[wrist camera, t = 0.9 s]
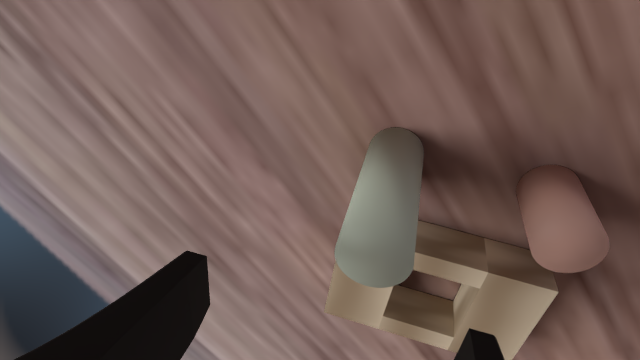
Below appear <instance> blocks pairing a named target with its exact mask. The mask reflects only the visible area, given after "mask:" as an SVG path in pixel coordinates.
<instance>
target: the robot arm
mask: <svg viewBox="0 0 640 360" xmlns="http://www.w3.org/2000/svg"><path fill="white" fill-rule="evenodd" d="M209 306H210V296H209V282H208V267H207V256H204V255H201V254H197V253H193V252H190V251H186V252H184V253H182V254H181V255H180V256H178V257H177V258H175V259H174V260H173V261H171V262H170V263H169V264H167V265H166V266H164V267H163V268H162V269H160V270H159V271H157V272H156V273H155V274H153V275H152V276H151V277H149V278H148V279H146V280H145V281H144V282H142V283H141V284H139V285H138V286H136V287H135V288H133V289H132V290H131V291H129V292H128V293H126V294H125V295H123V296H122V297H120V298H119V299H117V300H116V301H114V302H113V303H111V304H110V305H108V306H107V307H105V308H104V309H102V310H101V311H99V312H97V313H96V314H94V315H93V316H91V317H89V318H88V319H86V320H85V321H83V322H81V323H80V324H78V325H77V326H75V327H73V328H71V329H70V330H68V331H66V332H65V333H63V334H61V335H59V336H58V337H56V338H54V339H52V340H51V341H49V342H47V343H45V344H43V345H42V346H40V347H38V348H36V349H34V350H32V351H30V352H28V353H26V354H25V355H22V356H20V357H18V358H16V359H15V360H180V359H181V358H182V356H183V355H184V353H185V351H186V350H187V348H188V347H189V345H190V343H191V342H192V340H193V339H194V337H195V335H196V333H197V331H198V329H199V327H200V325H201V323H202V321H203V319H204V316H205V314H206V312H207V310H208V308H209ZM454 360H505V359H504V357H503V354H502V351H501V349H500V346H499V344H498V341H497V339H496V337H495V336H494V335H492V334H488V333H485V332H481V331H478V330H474V329H470V328H469V330H468V332H467V334H466V336H465V338H464V340H463V342H462V344H461V346H460V348H459V350H458V352H457V354H456V357H455V359H454Z"/></svg>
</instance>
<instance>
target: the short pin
mask: <svg viewBox="0 0 640 360" xmlns="http://www.w3.org/2000/svg"><path fill="white" fill-rule="evenodd" d="M516 195H517V199H518V203H519V207H520V211H521V215H522V219H523V223H524V227H525V231H526V234H527V238H528V242H529V246H530V250H531V254H532V256H533V258H534V259H535V261H536V262H537V263H538V264H539V265H541V266H542V267H544V268H546V269H548V270H551V271H554V272H559V273H576V272H581V271H585V270H588V269H590V268H592V267H594V266H596V265H597V264H599V263H600V262H601V261H602V260H603V259H604V258H605V257H606V255H607V253H608V251H609V247H610V241H609V238H608V235H607V233H606V231H605V229H604V227H603V225H602V223H601V221H600V219H599V218H598V216H597V214H596V212H595V210H594V208H593V206H592V204H591V202H590V200H589V198H588V196H587V194H586V192H585V190H584V188H583V186H582V184H581V182H580V180H579V178H578V177H577V175H576V174H575V173H574V172H573V171H571V170H570V169H568V168H566V167H563V166H559V165H544V166H540V167H537V168H534V169H532V170H530V171H529V172H527V173H526V174H525V175H524V176H523V177H522V178H521V179H520V181H519V182H518V184H517V188H516Z"/></svg>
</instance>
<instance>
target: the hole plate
mask: <svg viewBox="0 0 640 360" xmlns="http://www.w3.org/2000/svg"><path fill="white" fill-rule="evenodd" d="M413 270H415V271H419V272H423V273H426V274H430V275H433V276H437V277H440V278H444V279H447V280H451V281H454V282H458V283H461V286H460V288H459V291H458V293H457V295H456V297H455V299H454V301H451V300H447V299H444V298H440V297H437V296H433V295H430V294H426V293H423V292H420V291H416V290H413V289H409V288H406V287H402V286H399V285H395V286H392V287H386V288H375V287H369V286H365V285H362V284H360V283H357V282H355V281H354V280H352V279H350V278H349V277H348V276H347V275H345V274H344V273H343V272H342V270H341V269H340V268H339V266H338V264H337V262H336V261H335V266H334V270H333V275H332V279H331V284H330V288H329V293H328V297H327V301H326V306H325V310H324V312H325V313H328V314H332V315H335V316H338V317H341V318H345V319H348V320H351V321H354V322H358V323H361V324H364V325H368V326H371V327H374V328H377V329H381V330H384V331H387V332H390V333H394V334H397V335H400V336H403V337H407V338H410V339H413V340H417V341H420V342H423V343H426V344H430V345H433V346H436V347H439V348H443V349H446V350H449V351H452V352H456V353H457V352H458V350H459V348H460V346H461V344H462V342H463V340H464V338H465V336H466V334H467V332H468V330H469V328H470V329H474V330H478V331H481V332H485V333H488V334H492V335H494V336H495V337H496V339H497V341H498V344H499V346H500V349H501V351H502V354H503V357H504V359H505V360H512V359H513V357H514V356H515V355H516V353H517V352H518V350H519V349H520V347H521V346H522V344H523V343H524V342H525V340H526V339H527V337H528V336H529V334H530V333H531V331H532V330H533V329H534V327H535V326H536V324H537V323H538V321H539V320H540V318H541V317H542V316H543V314H544V313H545V311H546V310H547V308H548V307H549V305H550V304H551V303H552V301H553V300H554V298H555V297H556V295H557V294H558V292H559V291H558V288H557V285H556V281H555V278H554V275H553V272H552V271H551V270H548V269H546V268H544V267H542V266H541V265H539V264H538V263H537V262H536V261H535V259H534V258H533V256H532V254H531V250H528V249H524V248H520V247H516V246H513V245H509V244H505V243H501V242H498V241H494V240H490V239H486V238H483V237H479V236H475V235H472V234H468V233H464V232H460V231H457V230H453V229H449V228H445V227H442V226H438V225H434V224H430V223H427V222H423V221H419V220H418V224H417V235H416V246H415V257H414V267H413Z"/></svg>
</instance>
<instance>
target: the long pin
mask: <svg viewBox="0 0 640 360" xmlns="http://www.w3.org/2000/svg"><path fill="white" fill-rule="evenodd" d="M423 159H424V148H423V145H422V142H421V141H420V139H419V138H418V137H417V136H416V135H415V134H414V133H413V132H411V131H409V130H407V129H404V128H398V127H393V128H387V129H384V130H382V131H380V132H379V133H377V134H376V135H375V136H374V137H373V139H372V140H371V142H370V145H369V148H368V151H367V154H366V157H365V160H364V163H363V166H362V169H361V172H360V175H359V178H358V181H357V184H356V187H355V190H354V193H353V196H352V199H351V202H350V205H349V208H348V211H347V214H346V216H345V219H344V222H343V225H342V228H341V231H340V234H339V237H338V240H337V243H336V246H335V259H336V262H337V264H338V266H339V268H340V269H341V270H342V272H343V273H344V274H345V275H347V276H348V277H349V278H350V279H352V280H354V281H355V282H357V283H360V284H362V285H365V286H369V287H375V288H386V287H392V286H395V285H398V284H400V283H402V282H403V281H404V280H406V279H407V278H408V277H409V275H410V274H411V272H412V270H413V267H414V257H415V246H416V235H417V224H418V213H419V202H420V191H421V181H422V170H423Z"/></svg>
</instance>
